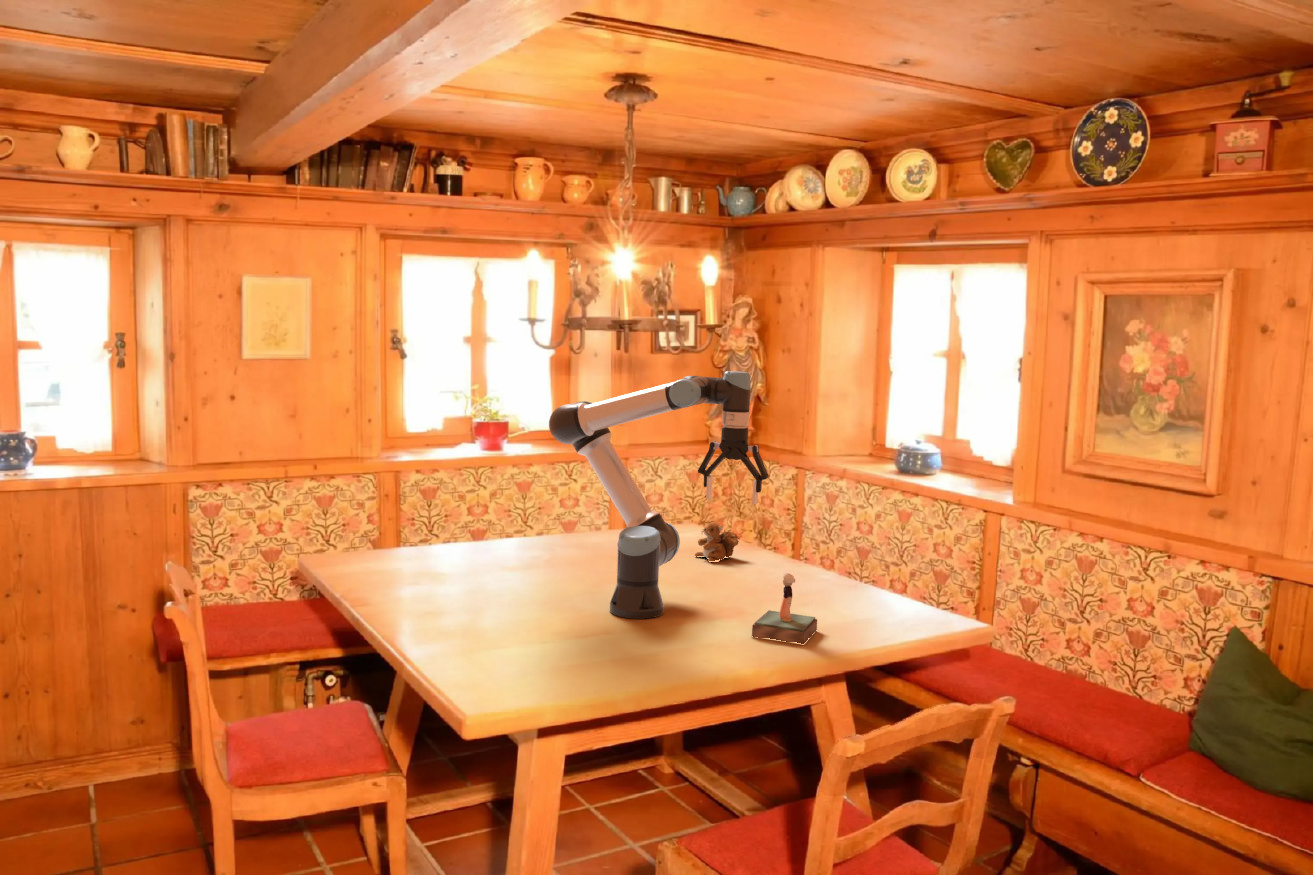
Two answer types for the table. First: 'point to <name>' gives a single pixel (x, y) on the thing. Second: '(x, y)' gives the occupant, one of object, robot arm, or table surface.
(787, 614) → the grandmother figurine
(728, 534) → the stuffed squirrel
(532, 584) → the table surface
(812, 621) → the sage green square panel
